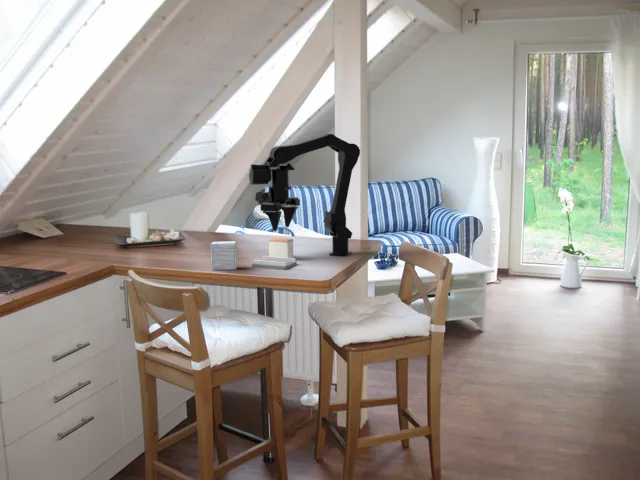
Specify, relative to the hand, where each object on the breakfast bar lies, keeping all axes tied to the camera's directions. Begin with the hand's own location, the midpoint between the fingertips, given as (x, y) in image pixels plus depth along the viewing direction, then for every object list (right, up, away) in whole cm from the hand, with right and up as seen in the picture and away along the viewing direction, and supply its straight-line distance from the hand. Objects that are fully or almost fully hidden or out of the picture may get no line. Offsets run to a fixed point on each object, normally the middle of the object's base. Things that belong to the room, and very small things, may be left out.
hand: (281, 229), depth 234 cm
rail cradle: (-2, -12, -9) cm, 16 cm away
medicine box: (-18, -13, -13) cm, 26 cm away
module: (0, -10, +2) cm, 11 cm away
